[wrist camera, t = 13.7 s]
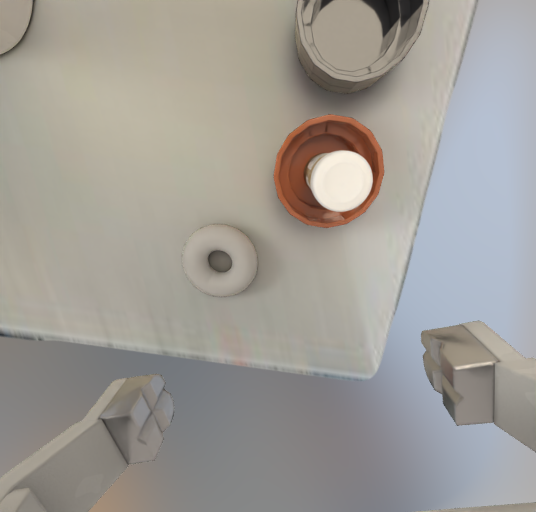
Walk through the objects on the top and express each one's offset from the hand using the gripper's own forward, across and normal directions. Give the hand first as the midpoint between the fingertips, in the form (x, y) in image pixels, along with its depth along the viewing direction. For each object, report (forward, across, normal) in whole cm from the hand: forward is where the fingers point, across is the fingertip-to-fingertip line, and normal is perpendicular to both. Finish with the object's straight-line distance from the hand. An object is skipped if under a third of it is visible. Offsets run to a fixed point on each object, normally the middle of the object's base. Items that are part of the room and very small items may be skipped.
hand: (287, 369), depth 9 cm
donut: (+29, +10, +5) cm, 31 cm away
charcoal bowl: (+29, -10, -16) cm, 35 cm away
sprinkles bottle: (+29, -5, -3) cm, 29 cm away
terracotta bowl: (+29, -5, -3) cm, 30 cm away
